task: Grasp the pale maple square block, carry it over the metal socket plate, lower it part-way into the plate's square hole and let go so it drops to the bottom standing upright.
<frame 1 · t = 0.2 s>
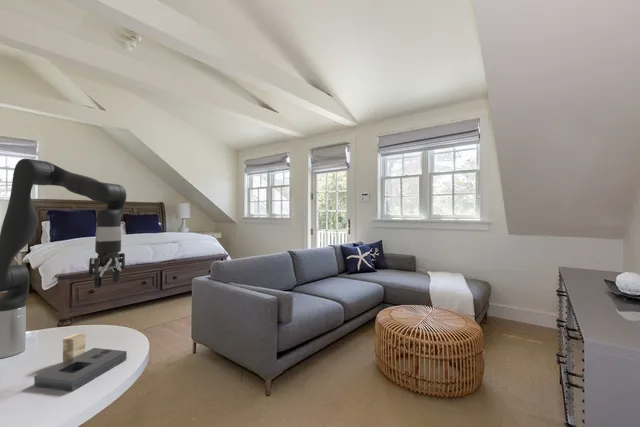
hand: (107, 284, 107), 28 cm above the table, fingers open, 8 cm apart
maple block: (74, 361, 107), on the table
metal socket plate: (84, 371, 101), on the table
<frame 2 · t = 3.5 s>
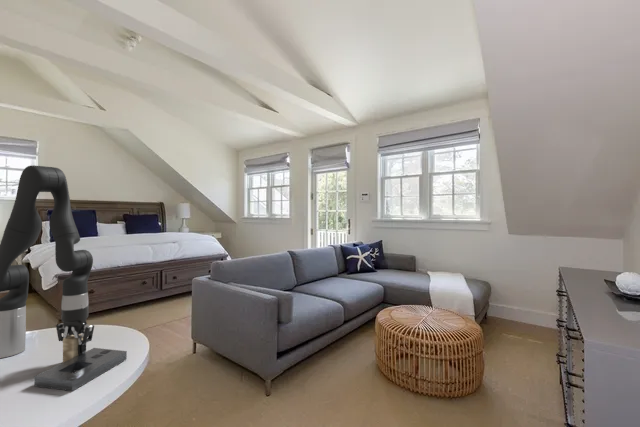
hand: (75, 353, 107), 3 cm above the table, fingers open, 5 cm apart
nothing on the table moved.
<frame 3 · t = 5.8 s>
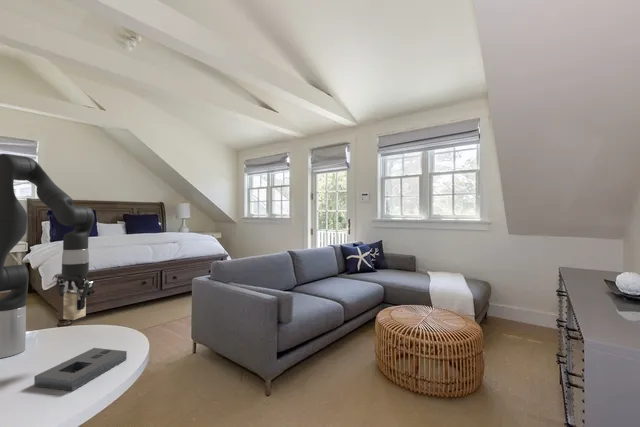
hand: (74, 308, 107), 19 cm above the table, fingers closed on maple block, 4 cm apart
maple block: (74, 317, 108), point 16 cm above the table, touching gripper
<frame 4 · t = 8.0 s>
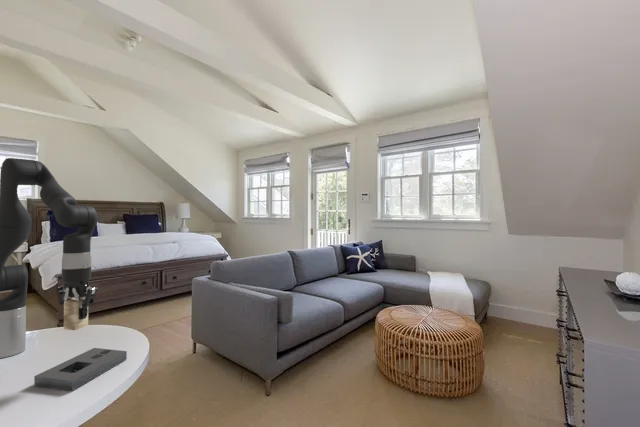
hand: (76, 318, 98), 19 cm above the table, fingers closed on maple block, 4 cm apart
maple block: (76, 327, 98), point 16 cm above the table, touching gripper
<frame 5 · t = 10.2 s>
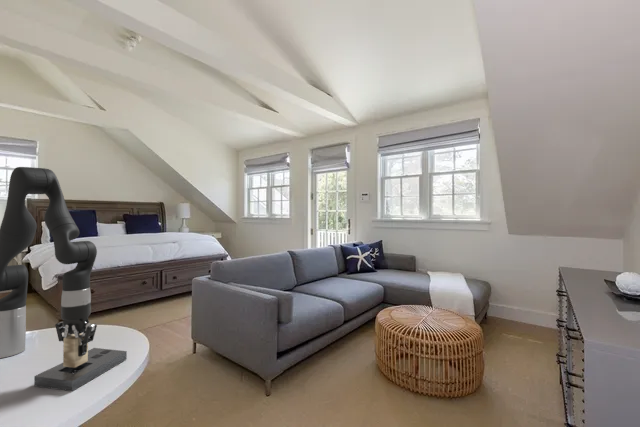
hand: (75, 354, 98), 7 cm above the table, fingers closed on maple block, 4 cm apart
maple block: (75, 363, 98), point 4 cm above the table, touching gripper
when the fingers open (4 cm above the table, at t = 12.0 s): maple block drops 1 cm, resting in metal socket plate.
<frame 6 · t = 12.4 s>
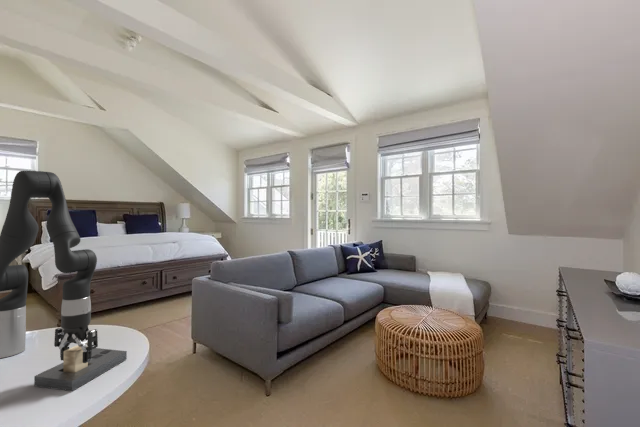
hand: (75, 360, 98), 5 cm above the table, fingers open, 8 cm apart
maple block: (75, 376, 98), resting in metal socket plate
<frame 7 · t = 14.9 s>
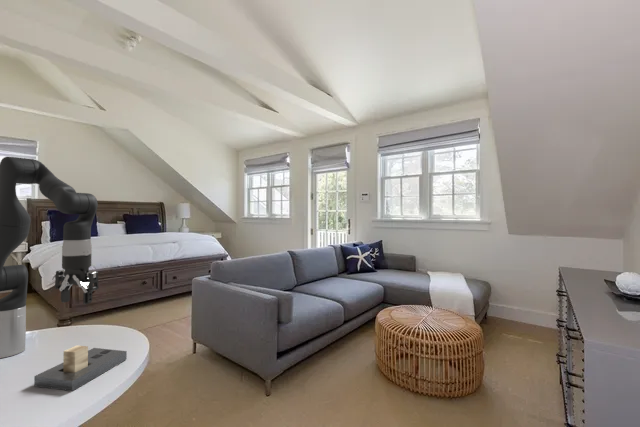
hand: (76, 302, 98), 24 cm above the table, fingers open, 8 cm apart
nothing on the table moved.
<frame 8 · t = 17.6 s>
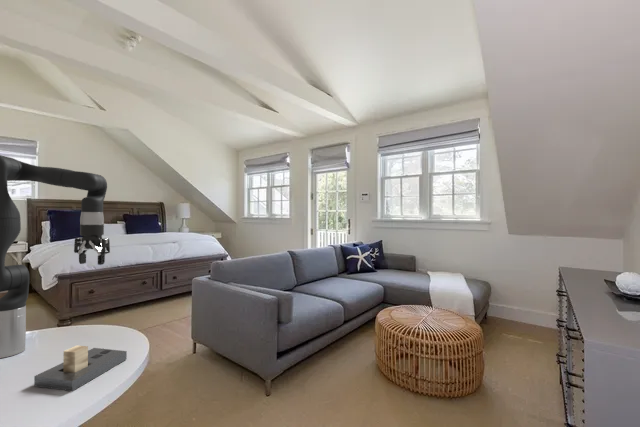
hand: (91, 264, 119), 33 cm above the table, fingers open, 8 cm apart
nothing on the table moved.
at the end: maple block 0.0 cm from the target spot on the metal socket plate, point 0.0 cm above the metal socket plate's base; maple block tilted 0°; the gripper is holding nothing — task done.
